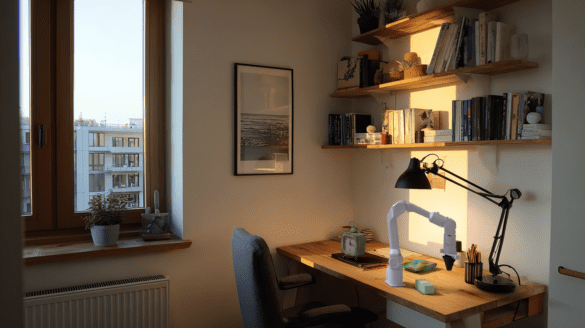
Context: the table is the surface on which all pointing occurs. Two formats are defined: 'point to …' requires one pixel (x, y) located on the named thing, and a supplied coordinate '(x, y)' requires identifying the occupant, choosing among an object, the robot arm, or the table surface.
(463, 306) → the table surface
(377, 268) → the table surface
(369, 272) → the table surface
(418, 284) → the sage block
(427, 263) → the puzzle game
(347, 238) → the tabletop clock
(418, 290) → the mat
